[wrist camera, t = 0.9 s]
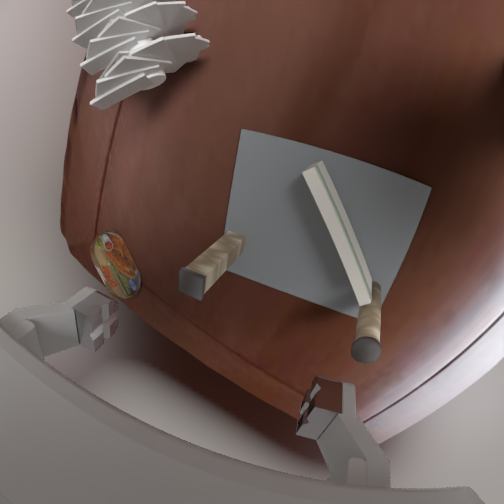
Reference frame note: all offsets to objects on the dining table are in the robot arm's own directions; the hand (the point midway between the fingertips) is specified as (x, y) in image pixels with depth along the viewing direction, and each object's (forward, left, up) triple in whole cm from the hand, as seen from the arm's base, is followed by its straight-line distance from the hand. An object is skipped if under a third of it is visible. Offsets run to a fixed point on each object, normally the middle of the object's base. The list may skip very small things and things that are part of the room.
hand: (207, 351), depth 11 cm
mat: (0, +9, -35) cm, 36 cm away
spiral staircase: (+31, -19, -35) cm, 51 cm away
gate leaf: (-4, +6, -34) cm, 34 cm away
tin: (+36, +28, -35) cm, 58 cm away
